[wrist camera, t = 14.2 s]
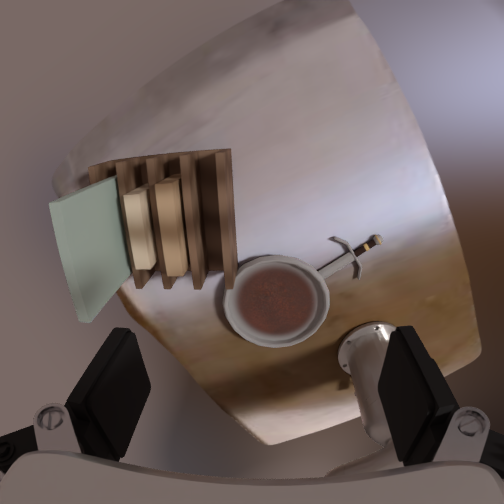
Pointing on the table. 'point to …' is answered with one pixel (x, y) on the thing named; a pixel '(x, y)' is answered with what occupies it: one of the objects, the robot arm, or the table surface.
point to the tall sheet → (92, 245)
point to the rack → (185, 208)
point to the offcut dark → (173, 225)
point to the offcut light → (141, 227)
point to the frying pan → (283, 297)
